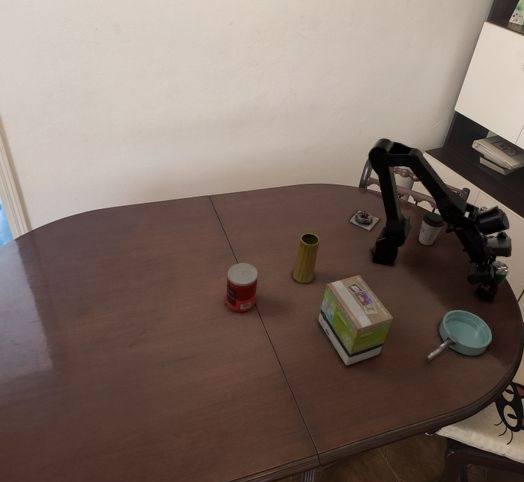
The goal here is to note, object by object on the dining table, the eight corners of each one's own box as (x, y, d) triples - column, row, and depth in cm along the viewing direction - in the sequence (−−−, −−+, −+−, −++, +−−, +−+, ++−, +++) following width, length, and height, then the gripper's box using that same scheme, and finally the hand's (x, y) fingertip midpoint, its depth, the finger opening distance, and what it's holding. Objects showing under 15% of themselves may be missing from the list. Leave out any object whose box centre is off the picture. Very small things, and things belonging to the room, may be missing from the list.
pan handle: (448, 338, 118) (450, 334, 117) (456, 344, 117) (458, 340, 116) (422, 357, 113) (424, 353, 112) (430, 364, 111) (432, 360, 110)
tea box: (316, 321, 122) (325, 281, 113) (348, 311, 125) (360, 272, 116) (345, 367, 111) (358, 328, 102) (380, 355, 115) (395, 316, 106)
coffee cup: (438, 239, 154) (448, 215, 148) (433, 250, 149) (442, 226, 143) (418, 231, 156) (427, 207, 150) (412, 241, 152) (421, 217, 145)
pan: (442, 351, 117) (447, 343, 115) (435, 315, 127) (439, 306, 125) (491, 359, 116) (497, 351, 114) (480, 322, 126) (485, 314, 124)
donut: (359, 210, 163) (360, 205, 162) (379, 219, 160) (380, 214, 159) (348, 221, 158) (349, 216, 156) (369, 230, 154) (370, 226, 153)
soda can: (496, 299, 134) (514, 270, 126) (483, 304, 132) (500, 274, 124) (483, 287, 137) (500, 258, 130) (471, 291, 135) (486, 261, 128)
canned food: (259, 297, 127) (262, 268, 120) (246, 317, 121) (249, 288, 114) (234, 287, 129) (236, 258, 122) (220, 306, 123) (222, 277, 116)
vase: (315, 272, 136) (323, 235, 128) (310, 286, 132) (318, 248, 123) (296, 266, 138) (302, 229, 129) (290, 279, 133) (296, 242, 124)
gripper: (498, 249, 115) (526, 297, 118) (504, 212, 128) (528, 256, 132) (455, 261, 122) (482, 305, 125) (465, 224, 136) (489, 265, 139)
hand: (497, 282), depth 130 cm, fingers closed on soda can, 5 cm apart
